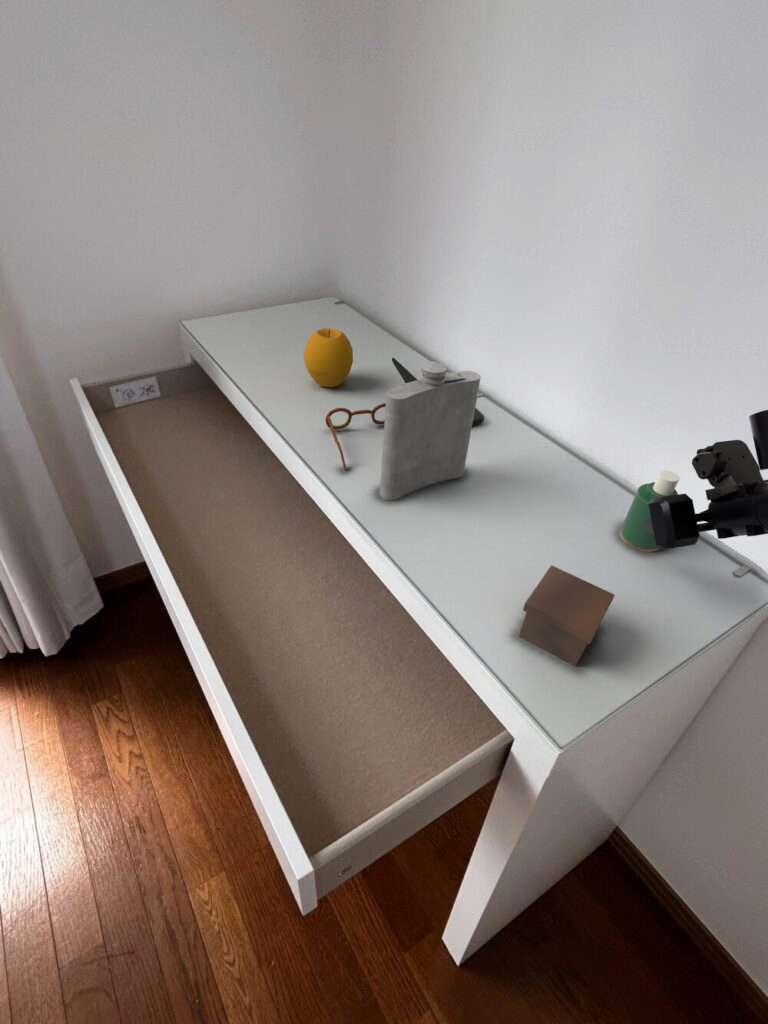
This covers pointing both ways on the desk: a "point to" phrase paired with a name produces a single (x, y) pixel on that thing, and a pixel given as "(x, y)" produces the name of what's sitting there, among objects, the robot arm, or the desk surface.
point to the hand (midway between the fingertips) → (673, 520)
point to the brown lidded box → (564, 614)
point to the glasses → (329, 423)
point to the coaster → (638, 547)
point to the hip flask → (427, 429)
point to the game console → (410, 378)
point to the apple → (328, 357)
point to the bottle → (647, 509)
